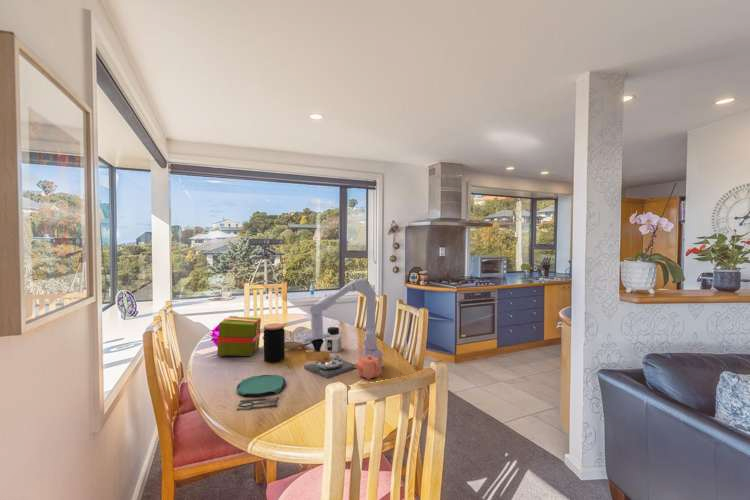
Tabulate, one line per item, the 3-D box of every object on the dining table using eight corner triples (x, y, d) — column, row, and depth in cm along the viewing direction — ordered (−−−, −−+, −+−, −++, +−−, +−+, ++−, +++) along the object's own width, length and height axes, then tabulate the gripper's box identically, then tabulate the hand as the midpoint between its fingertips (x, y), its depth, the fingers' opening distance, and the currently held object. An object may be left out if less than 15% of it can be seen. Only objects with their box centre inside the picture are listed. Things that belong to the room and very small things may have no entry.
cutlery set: (287, 377, 159) (287, 372, 159) (282, 408, 129) (282, 402, 129) (241, 381, 155) (241, 375, 155) (225, 414, 126) (225, 408, 126)
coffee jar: (287, 356, 188) (287, 323, 187) (280, 363, 177) (280, 328, 177) (268, 355, 189) (268, 323, 189) (260, 362, 178) (260, 327, 178)
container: (337, 352, 195) (337, 329, 194) (324, 351, 196) (324, 328, 196) (341, 348, 202) (341, 326, 202) (329, 347, 204) (329, 325, 203)
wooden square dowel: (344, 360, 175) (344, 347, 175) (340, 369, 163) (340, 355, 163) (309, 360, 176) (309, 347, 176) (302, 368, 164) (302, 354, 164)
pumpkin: (354, 381, 153) (353, 359, 153) (359, 371, 165) (358, 351, 165) (380, 382, 152) (379, 360, 151) (383, 372, 163) (383, 352, 163)
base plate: (356, 367, 170) (356, 364, 170) (327, 378, 157) (327, 374, 157) (332, 359, 182) (332, 356, 182) (304, 368, 169) (304, 365, 169)
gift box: (259, 353, 204) (215, 351, 202) (263, 317, 208) (220, 315, 206) (250, 358, 184) (201, 356, 182) (254, 318, 188) (207, 315, 186)
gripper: (324, 323, 180) (325, 349, 180) (300, 328, 171) (300, 355, 171) (332, 325, 175) (332, 352, 175) (307, 330, 165) (307, 358, 166)
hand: (317, 354), depth 173 cm, fingers closed
